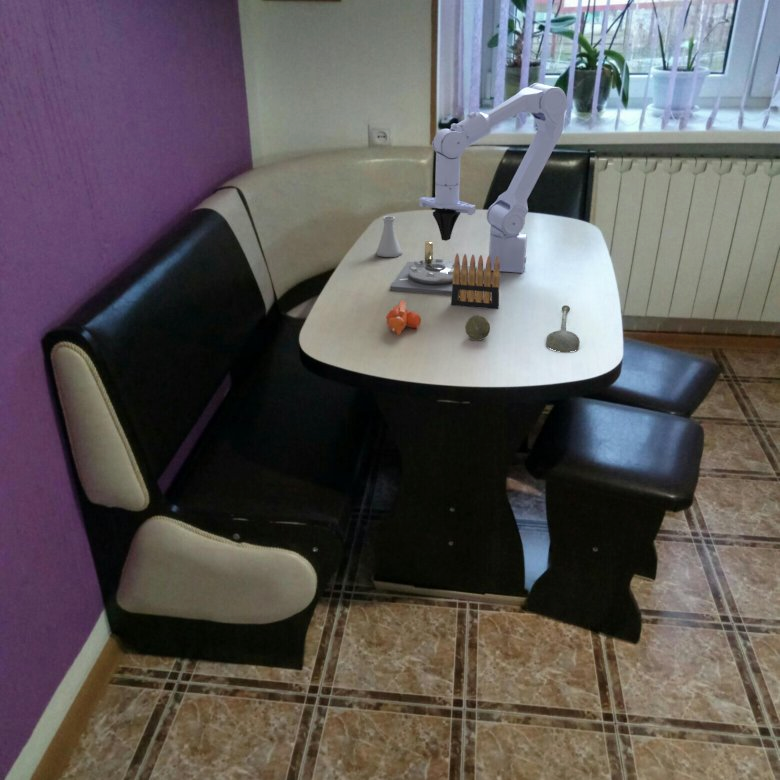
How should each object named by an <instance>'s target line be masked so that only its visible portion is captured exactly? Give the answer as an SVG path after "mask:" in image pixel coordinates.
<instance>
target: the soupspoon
mask: <svg viewBox="0 0 780 780" xmlns="http://www.w3.org/2000/svg"><path fill="white" fill-rule="evenodd" d="M570 310H571V307H570V306H569V305H567V304H566V305H563V306H562V307H561V311H562V317H561V318H562V319H561V327H560V328H561V329H560V330H555V331H552V332H550V333H549V334H548V335H547V336H546V339H545V343H546V346H547V348H548V347H549V348H551V349H553V350H556V351H555V352H557V351H560V352H559V353H571V352H570V351H575V350H577V351H578V349H579V347H580V343H581V342H580V338H579V336H578V335H577V334H575V333H573V332H572V331H569V330H567V314H568V312H570ZM549 348H548V349H549ZM553 350H552V351H553ZM575 352H576V351H575Z"/></svg>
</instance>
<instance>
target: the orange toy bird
mask: <svg viewBox="0 0 780 780" xmlns="http://www.w3.org/2000/svg"><path fill="white" fill-rule="evenodd" d="M406 302H407V301H406V300H403V299H400V301H399V304H398V305H395V306H394V307H393V308H392V309H391V310H390V311H389V312H388V313H387V314H386V324H387V326H388V327H389V328H390V329H391V332H393V333H396V334H397V335H398V336H399V335H401V333H402V331H403V330H405V328H406V326H408V327H409V328H411V329H417V328H418V327H420V325H421V324H422V318H421V315H419V313H417V312H415V311H409V310H408V308H407V303H406Z"/></svg>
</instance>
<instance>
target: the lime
mask: <svg viewBox="0 0 780 780" xmlns="http://www.w3.org/2000/svg"><path fill="white" fill-rule="evenodd" d="M464 329H465V333H466V335H467V337H468V338H469V339H470V340H472V341H481V340H482V341H483V340H484V339H486V338H487V337H488V336H489V334H490V331H491V324H490V322H489V320H488V319H487V318H486V317H485V316H483V315H480V314H476V315H475V314H474V315H472V316H471V317H469V318H468V319H467V322H466V323H465V326H464Z"/></svg>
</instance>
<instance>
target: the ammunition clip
mask: <svg viewBox="0 0 780 780" xmlns="http://www.w3.org/2000/svg"><path fill="white" fill-rule="evenodd" d="M482 255H483V254H480V256H479V257H478V260H477V261H478V262H477V271H475V267H476V257H475V255H474V254H472V255H471V257H470V261H469V265H468V257H467V256H468V255H467V254H466V253H464V255H463V257H462V260H461V261H462V262H460V257H459V256H460V255H459V253H456V255H455V257H454V260H453V262H454V270H453V286H452V295H451V298H450V299H451V300H450V306H452V307H465V306H466V307H468V308H476V309H477V308H479V309H480V308H481V309H490V310H491V309H492V310H493V309H494V310H498V309H499V307H500V283H501V281H500V280H501V279H500V278H501V273H500V272H501V271H500V269H499V267H500V263H499V257H498V256H497V257H496V259H495V263H494V271H493V272H492V271H491V258H490V255H489V254H488V256H487V259H486V262H485V263H486V264H485V267H486V270H485V269H484V258H483V256H482ZM460 263H461V264H460ZM460 265H462V270H461V280H460ZM468 266H470V269H469V276H468ZM484 270H485V272H484ZM467 290H468V291H467Z"/></svg>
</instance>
